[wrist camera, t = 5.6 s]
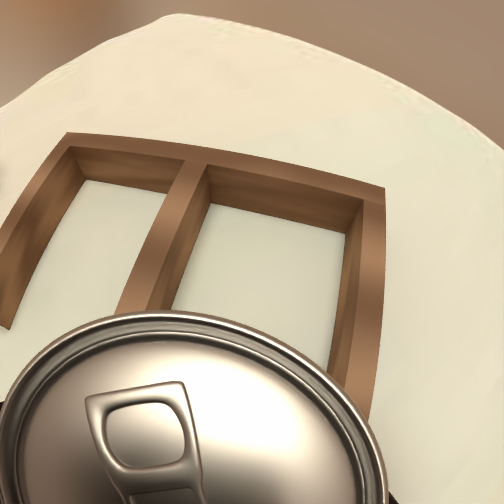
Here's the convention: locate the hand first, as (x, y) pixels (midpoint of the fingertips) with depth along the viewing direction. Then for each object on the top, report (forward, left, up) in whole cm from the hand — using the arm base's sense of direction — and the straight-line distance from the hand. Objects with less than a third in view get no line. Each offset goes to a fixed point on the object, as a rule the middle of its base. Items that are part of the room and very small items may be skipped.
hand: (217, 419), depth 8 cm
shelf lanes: (+9, 0, -9) cm, 13 cm away
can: (-1, +1, -7) cm, 7 cm away
